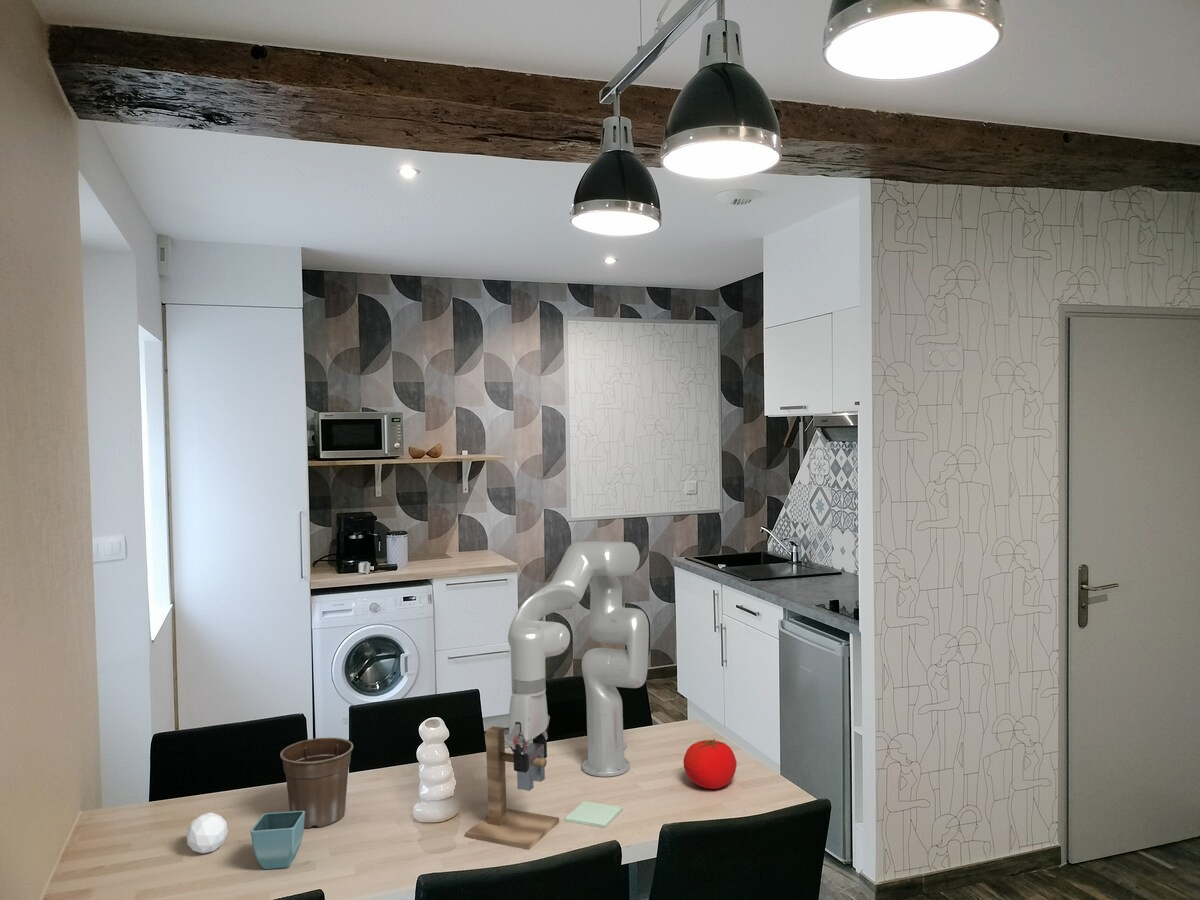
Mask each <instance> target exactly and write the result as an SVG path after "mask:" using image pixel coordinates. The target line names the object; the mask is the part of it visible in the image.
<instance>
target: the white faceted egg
mask: <svg viewBox="0 0 1200 900" xmlns="http://www.w3.org/2000/svg"><path fill="white" fill-rule="evenodd" d="M227 823H228V822H227V821H226V820H225V819H224V818H223V817H222V816H221V815H220V814H216V813H214V812H207V813H204V814H201V815H199V816H197V817H196V818H195V819H194V820H192V821H191V823H190V825H189V826H188V827H187V830H186V843H187V846H188V847H190V849H191V850H192V851H193V852H196V853H200V854H207V853H211V852H214V851H216V850H217V849H218V848H219V847H221V846H222V845H223V844H224V841H225V840H226V839H227V835H228V833H229V832H228V825H227Z"/></svg>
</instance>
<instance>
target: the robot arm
mask: <svg viewBox="0 0 1200 900" xmlns="http://www.w3.org/2000/svg"><path fill="white" fill-rule="evenodd" d="M640 559H641V556H640V552H639V549H638V547H637V546H636V544H634V543H633V542H630V541H604V540H603V541H602V540H601V541H599V540H597V541H596V540H594V541H593V540H592V541H591V540H590V541H576V542H573V543H572V544H570V545H569V546H568V547H567V549H566V551H565V553H564V554H563V556H562V559H561V561H560V563H559V565H558V567H557V569H556V571H555V574H554V575H553V577H552V578H551V581H550V583H548V584H547V585H546V586H544V587H542V588H540V589H539V590H537V591H536V592H535V593H533V594H532V595H530V596H528V598H527V599H525V600H524V601H523V602H522V604H521V605H520V606H519V608H518V610H516V613H515V614H514V617H513V619H512V621H511V623H510V625H509V626H510V627H509V629H508V632H507V633H508V634H507V640H508V641H507V643H508V646H509V648H510V673H511V674H510V677H511V680H510V681H511V696H510V701H509V702H510V703H509V715H508V738H507V740H508V741H507V742H508V744H509V746H510V747H509V748H510V750H511V754H513V755H514V763H513V770H514V772H517V771H518V772H524V773H526V772H527V771H528V755H527V753H526V749H527V746H528V745H529V742H530V741H532V743H539V744H544V758H545V759H547V758H548V746H547V745H548V743H547V742H548V741H547V739H548V737H549V736H548V731H549V723H550V719H551V716H550V715H549V714H548V703H547V694H546V691H547V688H546V687H547V686H546V659H547V658H550V657H556V656H559V655H561V654H563V653H564V652H565V651H566V650H567V649H568V648H569V644H570V641H571V634H570V631H569V629H568V627H567V626H566V625H565V624H563V623H560V622H556V621H548V620H547V621H545V620H541V619H542V618H544V617H546V616H548V615H550V614H552V613H556V612H559V611H563V610H565V609H568V608H570V607H573V606H575V605H577V604H579V603H580V602H581V601H582V599H583V597H584V594H585V592H586V590H587V587H588V586H589V589H590V590H589V591H590V600H589V603H590V604H589V622H588V623H589V635H590V638H591V639H592V641H595V642H598V643H603V644H617V645H626V649H618V648H609V647H608V648H607V647H597V648H595V647H594V648H591V649H589V650H587V651H586V652H585V653H584V655H583V657H582V660H581V672H582V677H583V681H584V682H583V683H584V687H585V689H584V690H585V697H586V698H585V699H586V701H585V702H586V731H587V732H586V733H587V734H586V735H587V759H584V761H583V762H582V768H581V769H582V770H583V772H585V773H586V774H588V775H590V776H593V777H594V776H595V777H602V778H603V777H605V778H607V777H614V776H619V775H623V774H625V773H628V771H629V770H630V767H631V763H630V761H629V760H628V759H627V758H625V754H624V753H625V752H624V751H626V750H627V748H628V745H627V743H625V742H624V717H623V715H624V713H623V709H624V707H623V699H622V696H621V694H620V692H619V690H618V689H617V688H624V689H625V688H627V689H637V688H641V687H642V686H644V685H645V682H646V681H647V677H648V667H649V666H648V665H649V642H650V641H649V638H650V631H649V630H650V626H649V620H648V617H647V614H646V613H645V612H644V611H643V610H642V609H639V608H634V607H623V587H622V585H621V582H620V580H619V579H618V578H617V577H623V576H629V575H632V574H634V573H635V572H636V571H637V569H638V568H639V565H640ZM520 737H522V738H520ZM520 743H522V745H520Z"/></svg>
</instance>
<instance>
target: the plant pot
mask: <svg viewBox="0 0 1200 900" xmlns="http://www.w3.org/2000/svg"><path fill="white" fill-rule="evenodd" d="M353 749H354V744H353V742H352V741H350V740H348V739H345V738H341V737H318V738H310V739H309V738H308V739H305V740H300V741H297V742H295V743H293V744H290V745H288V746H286V747H284V749H282V750H281V751H280V755H279V756H280V759H281V760H282V766H283V767H282V768H283V772H284V774H285V779H286V780H285V781H286V788H287V789H286V791H287V797H288V807H289V812H292V811H305V819H304V829H311V828H312V827H317V828H322V827H327V826H330V825H333V824H334V823H336V822H338V821H340V820H341V819H343V817H344V816H345V813H346V807H347V806H346V804H347V791H348V778H349V766H350V764H351V758H352V756H351V755H352V751H353Z"/></svg>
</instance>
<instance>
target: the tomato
mask: <svg viewBox="0 0 1200 900" xmlns="http://www.w3.org/2000/svg"><path fill="white" fill-rule="evenodd" d="M737 764H738V763H737V759H736V755H735V753H734V751H733V750H732V748H731V747H730V746H729V745H728V744H727V743H726V742H722V741H720V740H715V738H714V739H706V740H705V739H704V740H700V741H699V740H698V741H697V742H695V743H693V744H690V746H689V747H688V748H687V749H686V752H685V753H684V757H683V768H684V772H685V774H686V776H687V777H688V779H690V780H691V781H692V782H693V783H694V784H695V785H697V786H699V787H701V788H705V789H711V790H712V789H713V790H715V789H720V788H723V787H725V786H727V785H728V784H729V783H731V781H732V779H733V778H734V776H735V773H736V769H737Z"/></svg>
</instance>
